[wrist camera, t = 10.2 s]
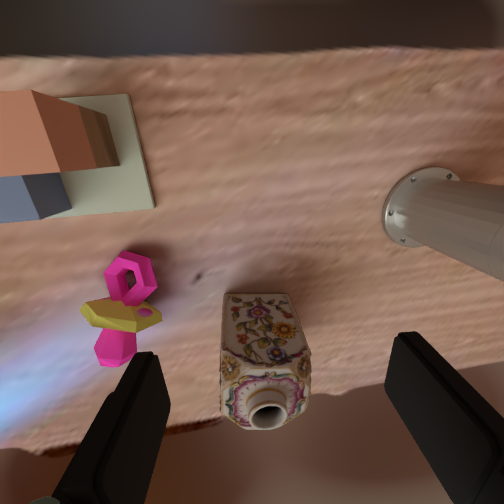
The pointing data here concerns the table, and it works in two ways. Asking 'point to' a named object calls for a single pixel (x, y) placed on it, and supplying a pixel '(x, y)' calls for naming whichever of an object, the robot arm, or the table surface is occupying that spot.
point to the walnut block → (99, 138)
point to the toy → (123, 309)
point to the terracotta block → (41, 135)
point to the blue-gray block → (32, 197)
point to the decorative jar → (262, 361)
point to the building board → (110, 178)
